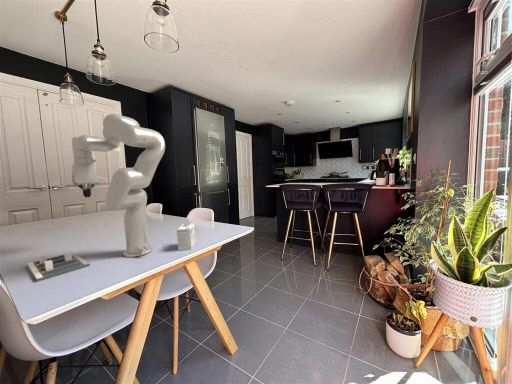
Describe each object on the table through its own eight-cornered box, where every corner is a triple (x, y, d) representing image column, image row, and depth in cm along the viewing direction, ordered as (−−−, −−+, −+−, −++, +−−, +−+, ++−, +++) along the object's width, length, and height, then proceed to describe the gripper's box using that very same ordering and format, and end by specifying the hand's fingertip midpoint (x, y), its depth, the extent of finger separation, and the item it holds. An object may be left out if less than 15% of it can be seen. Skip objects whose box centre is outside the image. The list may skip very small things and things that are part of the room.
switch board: (89, 265, 91) (89, 261, 91) (36, 281, 79) (35, 277, 78) (73, 254, 106) (73, 250, 106) (26, 266, 93) (26, 262, 93)
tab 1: (47, 262, 93) (46, 255, 93) (40, 264, 91) (39, 256, 91) (46, 261, 94) (44, 253, 94) (39, 263, 93) (38, 255, 92)
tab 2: (53, 269, 86) (52, 261, 85) (46, 271, 84) (45, 263, 84) (52, 268, 87) (51, 259, 87) (45, 270, 86) (44, 261, 85)
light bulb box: (183, 243, 116) (181, 223, 115) (196, 242, 116) (194, 223, 115) (177, 250, 105) (176, 229, 104) (191, 249, 106) (190, 228, 105)
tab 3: (72, 260, 95) (71, 252, 95) (66, 261, 93) (65, 254, 93) (70, 259, 96) (69, 251, 96) (64, 260, 95) (63, 252, 94)
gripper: (98, 162, 119) (101, 195, 121) (62, 162, 107) (67, 198, 109) (103, 161, 115) (106, 195, 116) (66, 161, 103) (71, 199, 105)
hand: (87, 197), depth 113 cm, fingers closed
